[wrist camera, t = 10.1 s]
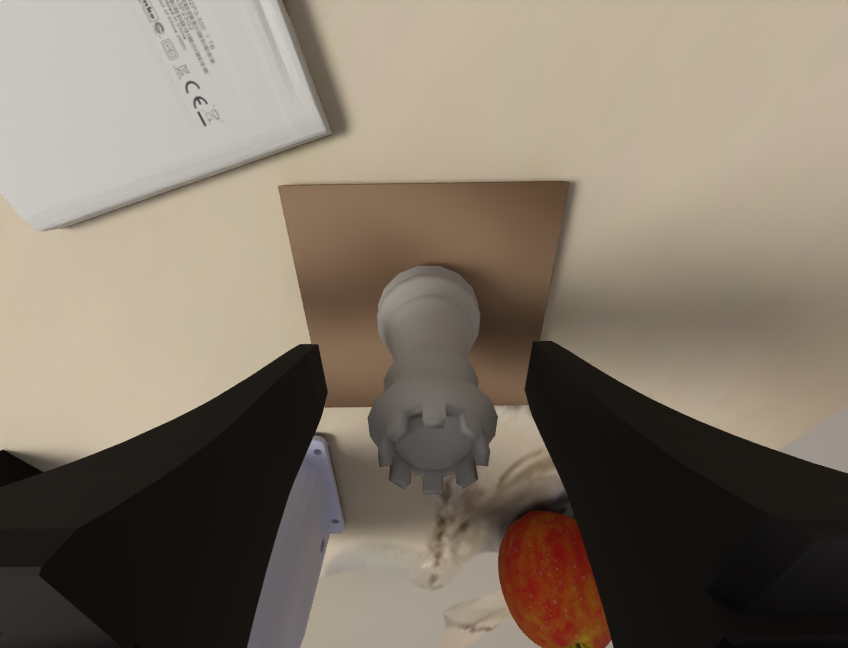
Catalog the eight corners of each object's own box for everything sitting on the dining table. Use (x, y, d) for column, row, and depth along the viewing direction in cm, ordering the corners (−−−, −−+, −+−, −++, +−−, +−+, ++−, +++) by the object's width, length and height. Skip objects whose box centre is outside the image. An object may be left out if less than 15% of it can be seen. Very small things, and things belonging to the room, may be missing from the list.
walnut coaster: (524, 397, 17) (527, 404, 17) (328, 400, 17) (325, 407, 17) (562, 180, 12) (569, 181, 12) (284, 185, 12) (277, 186, 12)
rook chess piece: (415, 365, 15) (409, 537, 8) (358, 297, 14) (290, 440, 7) (494, 321, 14) (566, 476, 7) (443, 240, 13) (470, 340, 5)
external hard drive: (-125, -28, 10) (216, -206, 8) (75, 226, 14) (337, 136, 12) (-219, -61, 8) (171, -284, 7) (33, 234, 12) (325, 132, 10)
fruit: (472, 532, 23) (494, 693, 16) (521, 477, 20) (574, 644, 13) (549, 552, 25) (600, 708, 18) (605, 503, 22) (694, 667, 15)
